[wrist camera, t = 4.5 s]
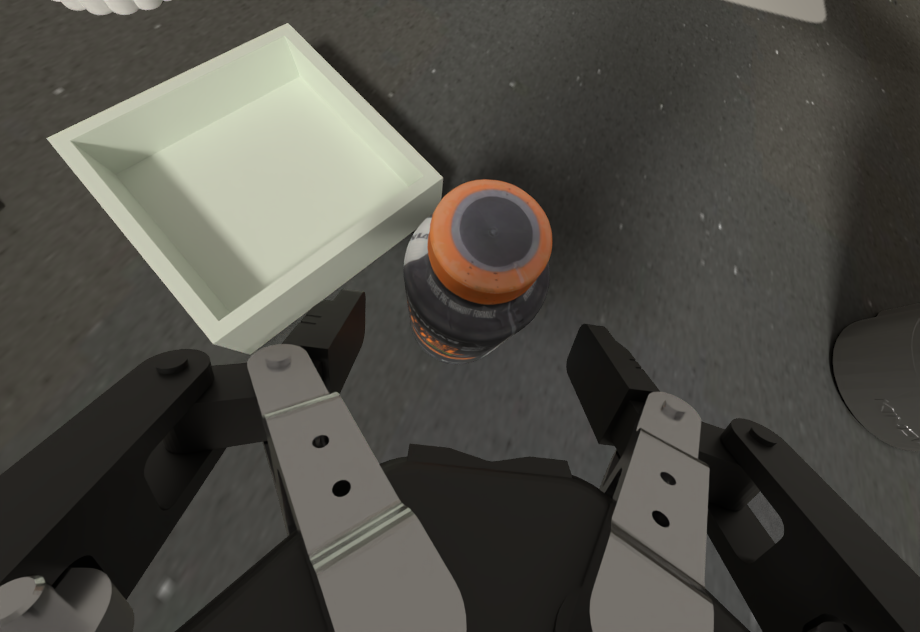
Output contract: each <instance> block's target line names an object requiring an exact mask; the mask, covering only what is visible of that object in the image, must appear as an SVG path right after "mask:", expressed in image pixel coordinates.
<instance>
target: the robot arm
mask: <svg viewBox="0 0 920 632" xmlns="http://www.w3.org/2000/svg"><path fill="white" fill-rule="evenodd" d="M365 301H366V297H365V292H362V291H355V290H348V289H342V290H341V291H340V293H339V294H338V295H337V297H336V298H335V299H334V301H328V300H324V301H323V302H321V303H319V304H317V305H315V306H313V307H312V308H311V309H310V311H309V312H308V313H307V314H306V316H305V317H304V318H303V319H302V320H301V323H299V324H298V325H297V326H296V327H295V328H294V330H293V331H292V332H291V333H290V334H289V336H288V337H287V338H286V339H285V340H284V342H283V343H282V344H277V345H272V346H268V347H265V348H262V349H260V350H258V351H257V352H255V353H254V354H253V355H252V356H251V357H250V358H249V360H248V362H247V363H241V364H229V365H216V366H211V362H210V358H209V356H208V355H207V354H206V353H204V352H202V351H199V350H193V349H180V350H173V351H168V352H165V353H161V354H158V355H156V356H153V357H151V358H149V359H147V360H145V361H144V362H142V363H141V364H140V365H138V366H137V367H136V368H135V369H133V370H132V371H131V372H130V373H128V374H127V375H126V376H125V377H123V378H122V379H121V380H120V381H118V382H117V383H116V384H115V385H113V386H112V387H111V388H109V389H108V390H107V391H106V392H104V393H103V394H102V395H101V396H99V397H98V398H97V399H96V400H94V401H93V402H92V403H91V404H89V405H88V406H87V407H86V408H84V409H83V410H82V411H81V412H79V413H78V414H77V415H76V416H74V417H73V418H72V419H71V420H69V421H68V422H67V423H65V424H64V425H63V426H62V427H60V428H59V429H58V430H57V431H55V432H54V433H53V434H52V435H50V436H49V437H48V438H47V439H45V440H44V441H43V442H42V443H40V444H39V445H38V446H37V447H35V448H34V449H33V450H32V451H30V452H29V453H28V454H27V455H25V456H24V457H23V458H21V459H20V460H19V461H18V462H16V463H15V464H14V465H13V466H11V467H10V468H9V469H8V470H6V471H5V472H4V473H3V474H1V475H0V632H133V627H134V613H133V609H132V607H131V606H130V605H129V603H128V602H127V601H126V600H127V598H128V597H129V595H130V594H131V592H132V590H133V589H134V587H135V586H136V584H137V583H138V581H139V580H140V578H141V577H142V575H143V574H144V572H145V571H146V569H147V568H148V566H149V565H150V563H151V562H152V560H153V559H154V557H155V556H156V554H157V553H158V551H159V549H160V548H161V546H162V545H163V543H164V542H165V540H166V539H167V537H168V536H169V534H170V533H171V531H172V530H173V528H174V527H175V525H176V524H177V522H178V521H179V519H180V518H181V516H182V515H183V513H184V512H185V510H186V508H187V507H188V505H189V504H190V502H191V501H192V499H193V498H194V496H195V495H196V493H197V492H198V490H199V489H200V487H201V486H202V484H203V483H204V481H205V480H206V478H207V477H208V475H209V474H210V472H211V471H212V469H213V467H214V466H215V464H216V463H217V461H218V460H219V458H220V457H221V455H222V454H223V452H224V451H225V449H226V448H227V447H231V446H237V445H243V444H250V443H256V442H263V446H264V449H265V453H266V457H267V460H268V464H269V467H270V471H271V474H272V478H273V481H274V485H275V488H276V492H277V495H278V499H279V503H280V507H281V512H282V516H283V520H284V524H285V528H286V531H287V535H288V537H287V538H285V539H284V540H283V541H282V542H281V543H279V544H278V545H277V546H276V547H275V548H274V549H272V550H271V551H270V552H269V553H268V554H266V555H265V556H264V557H263V558H262V559H260V560H259V561H258V562H257V563H256V564H255V565H253V566H252V567H251V568H250V569H249V570H247V571H246V572H245V573H244V574H243V575H242V576H240V577H239V578H238V579H237V580H236V581H234V582H233V583H232V584H231V585H230V586H229V587H227V588H226V589H225V590H224V591H223V592H221V593H220V594H219V595H218V596H217V597H215V598H214V599H213V600H212V601H211V602H210V603H208V604H207V605H206V606H205V607H204V608H202V609H201V610H200V611H199V612H198V613H197V614H195V615H194V616H193V617H192V618H191V619H189V620H188V621H187V622H186V623H185V624H183V625H182V626H181V627H180V628H179V629H178V630H176V631H175V632H750V631H749V630H748V629H747V628H746V627H745V626H744V625H743V624H742V623H741V622H740V621H739V620H738V619H737V618H735V617H734V616H733V615H732V614H731V613H730V612H729V611H728V610H727V609H726V608H725V607H724V606H723V605H722V604H721V603H720V602H719V601H718V600H717V599H716V598H715V597H714V596H713V595H712V594H710V593H709V592H708V591H707V590H706V589H705V584H704V579H705V557H706V535H707V534H708V536H709V537H710V539H711V541H712V543H713V545H714V546H715V548H716V550H717V552H718V553H719V555H720V557H721V559H722V560H723V562H724V564H725V566H726V567H727V569H728V571H729V573H730V575H731V576H732V578H733V580H734V582H735V583H736V585H737V587H738V589H739V590H740V592H741V594H742V596H743V598H744V599H745V601H746V603H747V605H748V606H749V608H750V610H751V612H752V613H753V615H754V617H755V619H756V620H757V622H758V624H759V626H760V628H761V629H762V631H763V632H920V577H919V576H918V575H917V574H916V573H915V572H914V571H913V570H912V569H911V568H910V567H909V566H908V565H907V564H906V563H905V562H904V561H903V560H902V559H901V558H900V557H899V556H898V555H897V554H896V553H895V552H894V551H893V550H892V549H891V548H890V547H889V546H888V545H887V544H886V543H885V542H884V541H883V540H882V539H881V538H880V537H879V536H878V535H877V534H876V533H875V532H874V531H873V530H872V529H871V528H870V527H869V526H868V525H867V524H866V523H865V522H864V521H863V520H862V519H861V518H860V517H859V516H858V515H857V514H856V513H855V512H854V511H853V510H852V508H851V507H850V506H849V505H848V504H847V503H846V502H845V501H844V500H843V499H842V498H841V497H840V496H839V495H838V494H837V493H836V492H835V491H834V490H833V489H832V488H831V487H830V486H829V485H828V484H827V483H826V482H825V481H824V480H823V479H822V478H821V477H820V476H819V475H818V474H817V473H816V472H815V471H814V470H813V469H812V468H811V467H810V466H809V465H808V464H807V463H806V462H805V461H804V460H803V459H802V458H801V457H800V456H799V455H798V454H797V453H796V452H795V451H794V450H793V449H792V448H791V447H790V446H789V445H788V444H787V443H786V442H785V441H784V440H783V439H782V438H781V437H779V436H778V435H777V434H775V433H774V432H772V431H771V430H769V429H768V428H766V427H764V426H762V425H760V424H758V423H755V422H753V421H750V420H746V419H740V418H738V419H734V420H732V421H731V423H730V424H729V425H728V426H727V428H726V429H722V428H719V427H716V426H713V425H710V424H707V423H704V422H701V419H700V416H699V415H698V413H697V412H696V411H695V410H694V409H693V408H692V407H691V406H690V405H689V404H687V403H686V402H685V401H683V400H681V399H680V398H678V397H676V396H673V395H671V394H668V393H664V392H660V391H659V390H658V388H657V387H656V386H655V384H654V383H653V382H652V380H651V379H650V378H649V377H648V375H647V374H646V373H645V371H644V370H643V369H641V366H640V365H639V364H638V362H636V361H635V358H634V357H633V356H632V355H631V353H630V352H629V351H628V350H627V349H626V348H625V347H623V346H622V345H621V344H619V343H618V342H617V341H615V339H614V338H613V337H612V335H611V334H610V333H609V331H608V330H607V329H606V328H605V327H603V326H596V325H589V324H583V325H582V326H581V327H580V329H579V331H578V333H577V336H576V338H575V341H574V343H573V346H572V348H571V351H570V353H569V356H568V359H567V366H566V367H567V373H568V376H569V378H570V380H571V383H572V385H573V387H574V389H575V391H576V394H577V396H578V398H579V400H580V403H581V405H582V407H583V409H584V412H585V414H586V416H587V418H588V421H589V423H590V425H591V427H592V430H593V432H594V434H595V436H596V439H597V441H598V443H599V444H603V445H612V446H615V447H616V451H615V453H614V454H613V456H612V458H611V460H610V463H609V465H608V468H607V470H606V473H605V475H604V478H603V480H602V483H601V485H600V488H599V489H598V488H597V487H595V486H594V485H592V484H590V483H588V482H587V481H585V480H583V479H580V478H578V477H576V476H573V475H571V472H570V469H569V466H568V463H567V461H565V460H555V459H546V458H537V457H523V458H516V459H509V460H502V461H494V462H491V461H486V460H483V459H480V458H477V457H474V456H471V455H468V454H466V453H463V452H460V451H457V450H454V449H451V448H445V447H435V446H426V445H417V444H410V445H409V451H408V457H401V458H396V459H392V460H389V461H386V462H384V463H381V464H379V463H378V461H377V459H376V458H375V456H374V454H373V452H372V451H371V449H370V447H369V445H368V444H367V442H366V440H365V438H364V437H363V435H362V433H361V431H360V430H359V428H358V426H357V424H356V423H355V421H354V419H353V417H352V416H351V414H350V412H349V410H348V408H347V407H346V405H345V403H344V401H343V400H342V398H341V396H340V395H339V394H340V392H341V390H342V388H343V385H344V383H345V381H346V379H347V377H348V375H349V372H350V370H351V368H352V366H353V364H354V362H355V359H356V357H357V355H358V353H359V351H360V348H361V346H362V343H363V339H364V334H365ZM833 368H834V376H835V379H836V382H837V385H838V389H839V391H840V393H841V395H842V397H843V399H844V401H845V403H846V405H847V406H848V408H849V409H850V411H851V412H852V414H853V415H854V416H855V418H856V419H857V420H858V421H859V422H860V423H861V424H862V425H863V426H864V427H865V428H866V429H867V430H868V431H869V432H870V433H872V434H873V435H874V436H875V437H877V438H878V439H879V440H881V441H883V442H885V443H887V444H889V445H890V446H892V447H896V448H899V449H902V450H905V451H915V452H920V303H917V304H912V305H907V306H902V307H897V308H892V309H887V310H882V311H880V312H879V314H878V316H877V317H873V318H868V319H863V320H859V321H856V322H854V323H851V324H850V325H849V326H847V327H846V328H845V329H844V330H843V331H842V332H841V334H840V335H839V337H838V338H837V340H836V344H835V347H834V351H833ZM760 491H761V493H762V494H763V495H764V496H765V498H766V499H767V500H768V501H769V503H770V504H771V505H772V507H773V508H774V509H775V510H776V512H777V513H778V514H779V516H780V517H781V519H782V521H783V524H784V536H783V537H782V539H781V540H780V541H778V542H777V543H776V544H775V543H774V541H773V540H772V538H771V537H770V536H769V534H768V533H767V532H766V530H765V529H764V527H763V526H762V525H761V523H760V522H759V520H758V519H757V518H756V516H755V515H754V513H753V512H752V511H751V509H750V508H749V506H748V505H747V504H748V503H749V502H750V501H751V500H752V499H753V498H754V497H755V496H756V495H757V494H758V493H759V492H760Z"/></svg>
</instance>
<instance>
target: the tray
mask: <svg viewBox="0 0 920 632" xmlns="http://www.w3.org/2000/svg"><path fill="white" fill-rule="evenodd" d="M47 140H48V141H49V142H50V143H51V144H52V146H53V147H54V148H55V149H56V151H57V152H58V153H59V154H60V156H61V157H62V158H63V159H64V160H65V162H66V163H67V164H68V165H69V167H70V168H71V169H72V170H73V172H74V173H75V174H76V175H77V177H78V178H79V179H80V180H81V181H82V183H83V184H84V185H85V186H86V188H87V189H88V190H89V191H90V193H91V194H92V195H93V196H94V197H95V199H96V200H97V201H98V202H99V204H100V205H101V206H102V207H103V209H104V210H105V211H106V212H107V214H108V215H109V216H110V217H111V218H112V220H113V221H114V222H115V223H116V225H117V226H118V227H119V228H120V230H121V231H122V232H123V233H124V234H125V236H126V237H127V238H128V239H129V241H130V242H131V243H132V244H133V246H134V247H135V248H136V249H137V251H138V252H139V253H140V254H141V255H142V257H143V258H144V259H145V260H146V262H147V263H148V264H149V265H150V267H151V268H152V269H153V270H154V271H155V273H156V274H157V275H158V276H159V278H160V279H161V280H162V281H163V283H164V284H165V285H166V286H167V288H168V289H169V290H170V291H171V292H172V294H173V295H174V296H175V297H176V299H177V300H178V301H179V302H180V304H181V305H182V306H183V307H184V308H185V310H186V311H187V312H188V313H189V315H190V316H191V317H192V318H193V320H194V321H195V322H196V323H197V325H198V326H199V327H200V328H201V329H202V331H203V332H204V333H205V334H206V336H207V337H208V338H209V339H210V341H211V342H212V343H213V344H215V345H219V346H222V347H226V348H229V349H232V350H236V351H239V352H243V353H246V354H252V353H253V352H254V351H256V350H257V349H258V348H260V347H261V346H262V345H264V344H265V343H266V342H268V341H269V340H270V339H272V338H273V337H274V336H275V335H277V334H278V333H279V332H281V331H282V330H283V329H285V328H286V327H287V326H289V325H290V324H291V323H293V322H294V321H295V320H297V319H298V318H299V317H301V316H302V315H303V314H305V313H306V312H307V311H309V310H310V309H311V308H312V307H313V306H315V305H316V304H318V303H319V302H320V301H322V300H323V299H324V298H326V297H327V296H328V295H330V294H331V293H332V292H334V291H335V290H336V289H338V288H339V287H340V286H342V285H343V284H344V283H346V282H347V281H348V280H350V279H351V278H352V277H354V276H355V275H356V274H357V273H359V272H360V271H361V270H363V269H364V268H365V267H367V266H368V265H369V264H371V263H372V262H373V261H375V260H376V259H377V258H379V257H380V256H381V255H383V254H384V253H385V252H387V251H388V250H389V249H391V248H392V247H393V246H395V245H396V244H397V243H398V242H400V241H401V240H402V239H404V238H405V237H406V236H408V235H409V234H410V233H412V232H413V231H414V230H416V229H417V228H418V227H419V226H420V225H421V223H422V222H423V221H424V220H425V219H426V218H427V217H429V216H430V215H431V214H433V213H434V211H435V209H436V207H437V205H438V204H439V202H440V201H441V197H442V186H443V177H442V176H441V175H440V174H439V173H438V172H437V171H436V170H435V169H434V168H433V167H432V166H431V165H430V164H429V163H428V162H427V161H426V160H425V159H424V158H423V157H422V156H421V155H420V154H419V153H418V152H417V151H416V150H415V149H414V148H413V147H412V146H411V145H410V144H409V143H408V142H407V141H406V140H405V139H404V138H403V137H402V136H401V135H400V134H399V133H398V132H397V131H396V130H395V129H394V128H393V127H392V126H391V125H390V124H389V123H388V122H387V121H386V120H385V119H384V118H383V117H382V116H381V115H380V114H379V113H378V112H377V111H376V110H375V109H374V108H373V107H372V106H371V105H370V104H369V103H368V102H367V101H366V100H365V99H364V98H363V97H362V96H361V95H360V94H359V93H358V92H357V91H356V90H355V89H354V88H353V87H352V86H351V85H350V84H349V83H348V82H347V81H346V80H345V79H344V78H343V77H342V76H341V75H340V74H339V73H338V72H337V71H336V70H335V69H334V68H333V67H332V66H331V65H330V64H329V63H328V62H327V61H326V60H325V59H324V58H323V57H322V56H321V55H320V54H318V53H317V52H316V51H315V50H314V49H313V48H312V47H311V46H310V45H309V44H308V43H307V42H306V41H305V40H304V39H303V38H302V37H301V36H300V35H299V34H298V33H297V32H296V31H295V30H294V29H293V28H292V27H291V26H290V25H289V24H288V23H287V24H284V25H282V26H280V27H278V28H276V29H274V30H272V31H270V32H268V33H266V34H264V35H261V36H259V37H257V38H255V39H253V40H251V41H249V42H247V43H245V44H243V45H241V46H238V47H236V48H234V49H232V50H230V51H228V52H226V53H224V54H222V55H220V56H218V57H215V58H213V59H211V60H209V61H207V62H205V63H203V64H201V65H199V66H197V67H195V68H192V69H190V70H188V71H186V72H184V73H182V74H180V75H178V76H176V77H174V78H172V79H169V80H167V81H165V82H163V83H161V84H159V85H157V86H155V87H153V88H151V89H148V90H146V91H144V92H142V93H140V94H138V95H136V96H134V97H132V98H130V99H128V100H125V101H123V102H121V103H119V104H117V105H115V106H113V107H111V108H109V109H107V110H105V111H102V112H100V113H98V114H96V115H94V116H92V117H90V118H88V119H86V120H84V121H82V122H79V123H77V124H75V125H73V126H71V127H69V128H67V129H65V130H63V131H61V132H59V133H56V134H54V135H52V136H50V137H48V138H47Z"/></svg>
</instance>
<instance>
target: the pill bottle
mask: <svg viewBox="0 0 920 632" xmlns="http://www.w3.org/2000/svg"><path fill="white" fill-rule="evenodd" d="M551 251H552V231H551V227H550V224H549V220H548V218H547V216H546V214H545V212H544V211H543V209H542V208H541V207H540V205H539V204H538V203H537V202H536V200H535V199H533V198H532V197H531V196H530V195H529V194H528V193H526V192H525V191H523V190H522V189H520V188H518V187H516V186H515V185H512V184H509V183H507V182H503V181H498V180H488V179H482V180H474V181H469V182H466V183H464V184H461V185H459V186H458V187H456V188H454V189H453V190H451V191H450V192H449V193H448V194H446V195H445V196H444V197H443V198H442V200H441V201H440V202H439V204H438V205H437V207H436V209H435V211H434V213H433V214H431V215H430V216H429V217H427V218H426V219H425V220H424V221H423V222H422V223H421V225H420V226H419V227H418V228H417V230H416V231H415V232H414V234H413V236H412V238H411V240H410V242H409V244H408V247H407V250H406V254H405V259H404V281H405V289H406V294H407V302H408V310H409V318H410V326H411V329H412V333H413V335H414V338H415V340H416V341H417V343H418V344H419V345H420V347H421V348H422V349H423V350H424V351H425V352H426V353H427V354H428V355H430V356H431V357H433V358H434V359H436V360H439V361H441V362H444V363H450V364H466V363H470V362H474V361H476V360H478V359H480V358H482V357H484V356H486V355H487V354H488V353H490V352H491V351H493V350H494V349H495V348H497V347H498V346H500V345H501V344H502V343H504V342H505V341H506V340H508V339H509V338H510V337H512V336H513V335H514V334H516V333H517V332H519V331H520V330H521V329H523V328H524V327H525V326H526V325H527V324H529V323H530V322H531V321H532V320H533V319H534V317H535V316H536V314H537V313H538V312H539V310H540V308H541V307H542V305H543V303H544V301H545V298H546V295H547V292H548V288H549V281H550V268H549V258H550V255H551Z"/></svg>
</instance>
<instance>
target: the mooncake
mask: <svg viewBox="0 0 920 632" xmlns="http://www.w3.org/2000/svg"><path fill="white" fill-rule="evenodd" d="M53 1H59V2H60V1H61V2H62V3H63V4H64V5H65V6H66V7H67V8H69V9H72V10H85V9H87V10H88V11H89V12H91V13H93V14H96V15H106V14H109V13H112V12H115V13H117V14H121V15H128V14H132V13H135V12H136V11H138V10H139V9H143V10H152V9H155V8H157V7H159V6H160V5H161V4H162V2H163V1H171V0H53Z"/></svg>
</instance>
